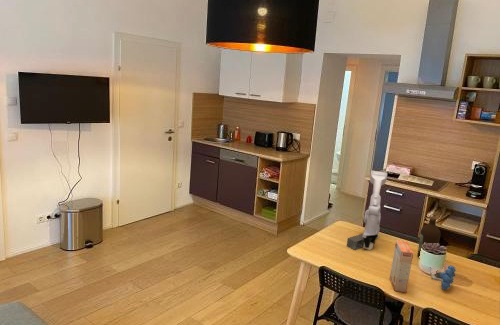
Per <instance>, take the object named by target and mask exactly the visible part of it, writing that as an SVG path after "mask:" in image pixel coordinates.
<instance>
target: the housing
mask: <svg viewBox="0 0 500 325" xmlns="http://www.w3.org/2000/svg"><path fill="white" fill-rule="evenodd" d="M363 234H364V232H363V233H359V234H357V235H356V234H355V235H354V236H350V237H347V242H346V247H347V248H350V249H351V250H353V251H357V250H360V249H362V248H363V247H362V245H363V242H364V239H363V237H362V236H363ZM375 242H376V241H375ZM375 242H374V244H373V245H375Z"/></svg>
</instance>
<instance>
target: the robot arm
mask: <svg viewBox="0 0 500 325" xmlns="http://www.w3.org/2000/svg"><path fill="white" fill-rule="evenodd" d="M387 178H388V172H387V171H385V172H384V171H377V170H373V169H372V170H371V171H370V178H369V183H371V184H372V185H373V188H372V194H371V195H370V202H369V206H368V208H367V209H366V210H365V213H364V218H363V223H365V226H364V230H363V233H364V234H363V233H362V234H363V236H362V237H363V239H364V243H365V247H367V248H369V245H370V242H371V243H373V245H375V244H374V242H376V240H377V239H378V238H380V236H379V235H380V230H381V229H380V228H381V227H380V224H381V220H382V219H381V218H382V216H381V215H382V214H381V200H382V199H381V198H382V196H381V195H380V192H381V187H382V186H384V185H385V184H386V183H387Z"/></svg>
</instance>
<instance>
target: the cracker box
mask: <svg viewBox="0 0 500 325" xmlns="http://www.w3.org/2000/svg"><path fill="white" fill-rule="evenodd" d="M413 258H414V251H413V250H412V248H411V246H410V243H409V242H408V241H406V240H397V239H396V240H395V245H394V250H393V256H392V262H391V263H392V264H391V270H390V274H389V279H390V282H391V285H392V289H393V291H395V292H400V293H407V290H408V284H409V281H410V274H411V269H412V264H413V263H412V262H413Z"/></svg>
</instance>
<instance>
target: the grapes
mask: <svg viewBox="0 0 500 325" xmlns="http://www.w3.org/2000/svg"><path fill="white" fill-rule="evenodd" d="M455 272H457V270H456V268H455V266H453V265H448V269H446V270H445V273H444V272H442V273H440V277H441V278H442V279H443V281H442V282H441V281H440V284H441V287H442V290H444V291H446V290H449V288H451V287H452V286H451V285H452V284H453V283H454V277H456V273H455ZM451 283H452V284H451Z"/></svg>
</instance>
